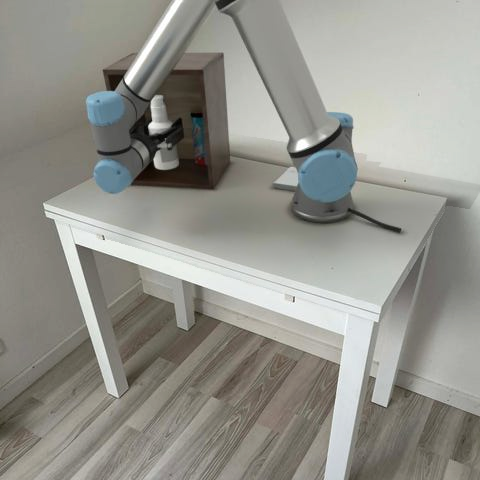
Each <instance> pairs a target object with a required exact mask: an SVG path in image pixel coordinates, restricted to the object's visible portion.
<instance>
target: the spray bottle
mask: <svg viewBox="0 0 480 480" xmlns="http://www.w3.org/2000/svg"><path fill="white" fill-rule="evenodd" d="M151 112H152V122H151V123H150V124H149V125H148V129H149V135H153V134H155V133H162V132H164V131H166V130H168V129H170V128H171V125H172V124H173V122H172V121H170V120H168V116H167V111H166V105H165V103H164V96H163V95H155V96H154V98H153V99H152V100H151ZM153 160H154V165H155V168H157V169H160V170H168V169H173V168H175V167H177V166H178V165H179V159H178V151H177V144H176V145H175V146H174V147H173V148H172V150H170V151H168V150H167V149H166V147H165V148H161V150H159V151H157V152H156V155H155V157H154V159H153Z"/></svg>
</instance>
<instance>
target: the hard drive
mask: <svg viewBox="0 0 480 480" xmlns="http://www.w3.org/2000/svg"><path fill="white" fill-rule="evenodd" d="M298 182H299V181H298V172H297V169H296V167H295V166H289V167H288V168H287V169H286V170H285V171H284V172H282V174H281V175H280V176H278V178H277V179H276V180H274V182H273V183H272V185H273V186H272V187H273V189H276V190H284V191H291V192H295V190H296V187H297V185H298Z"/></svg>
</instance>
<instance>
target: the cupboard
mask: <svg viewBox="0 0 480 480" xmlns="http://www.w3.org/2000/svg"><path fill="white" fill-rule="evenodd" d="M138 53H139V52H131V53H130V54H128V55H126V56H125V57H122V58H121V59H119V60H118V61H115V62H113V63H112V64H110V65H108V66H106V67H104V68H102V69H101V70H102V75H103V78H104V83H105V88H106V91H115V90H116V88H117V87H118V85H119V83H120V82H121V80H122V79H123V78H124V76H125V74H126V72H127V71H128V69H129V68H130V66H131V65H132V63H133V61H134V60H135V58H136V57H137V55H138ZM224 55H225V54H224V52H185V53H184V54H183V56H182V57H181V59H180V60H179V62H178V63H177V64H176V66H175V67H174V69H173V70H172V72H171V73H170V75H169V76H168V77H167V79H166V80H165V82H164V83H163V85H162V86H161V87H160V89H159V90H158V92H157V93H156V95H163V96H164V103H165V105H166V111H167V116H168V120H170V121H172V122H173V123H174V122H175V121H176V120H177V119H178V118H182V125H183V130H184V138H183V139H182V140H181V141H180V142H178V143H177V151H178V159H179V165H178V166H177V167H175V168H173V169H168V170H160V169H157V168H155V165H154V160H152V161H151V162H150V164H149V165H148V166H146V167H145V168H144V169H143V171H142V172H141V173H140V174H139V175H138V176H137V177H136V178H135V179H134V180H133V182H132V183H131V185H130V186H142V187H143V186H144V187H160V188H161V187H163V188H179V189H183V188H184V189H199V190H215V188H216V187H217V185H218V183H219V182H220V181H221V178H222V177H223V176H224V174H225V172H226V171H227V169H228V168H229V166H230V165H231V151H230V150H231V149H230V148H231V147H230V135H229V118H228V104H227V103H228V102H227V101H228V100H227V86H226V70H225V56H224ZM191 113H203V123H204V134H205V145H206V155H207V165H200V164H197V163H196V161H195V152H194V143H193V134H192V124H191V115H190V114H191ZM151 118H152V112H151V102H150V104H149V105H148V107H147V108H146V111H145V113H144V114H143V115H142V117H141V118H140V119H138V120H137V121H136V122H135V124H134V125H133V126H135V127H136V128H139V125H138V123H143V125H144V124H146V123H147V122H148V121H149V120H150V119H151ZM133 126H132V127H133ZM145 135H146V134H145Z"/></svg>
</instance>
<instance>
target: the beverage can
mask: <svg viewBox="0 0 480 480" xmlns="http://www.w3.org/2000/svg"><path fill="white" fill-rule="evenodd" d="M190 115H191V124H192V134H193V143H194V152H195V161H196V163H197V164H200V165H207V155H206V145H205V134H204V123H203V113H191V114H190Z"/></svg>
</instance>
